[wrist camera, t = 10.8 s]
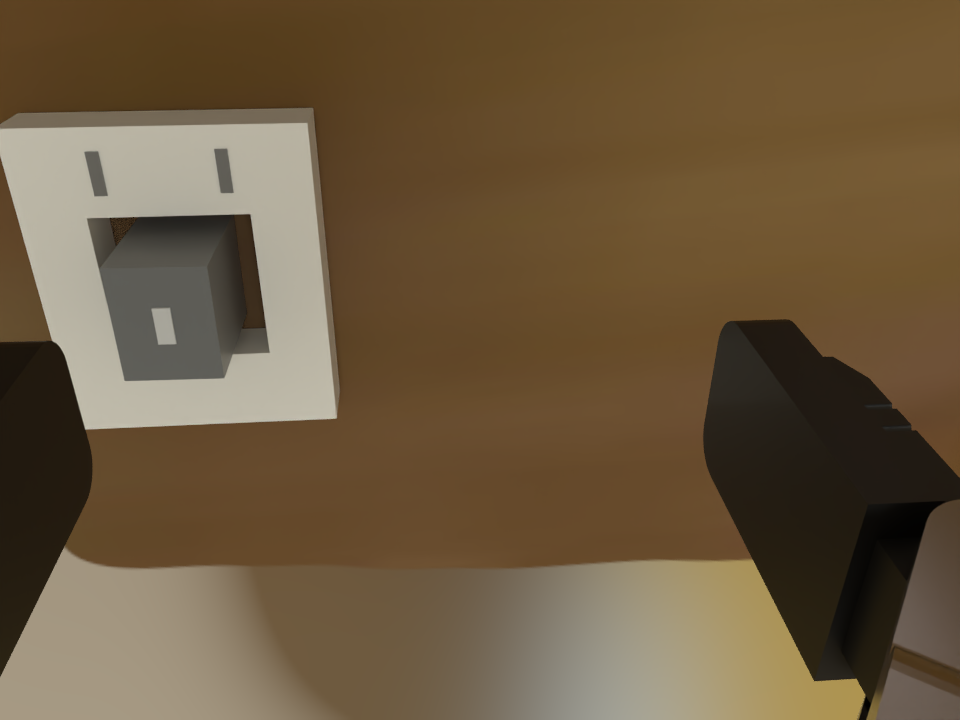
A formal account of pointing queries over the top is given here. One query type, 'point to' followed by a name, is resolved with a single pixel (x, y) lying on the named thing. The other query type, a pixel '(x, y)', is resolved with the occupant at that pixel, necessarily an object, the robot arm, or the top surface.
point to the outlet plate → (179, 192)
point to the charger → (176, 297)
